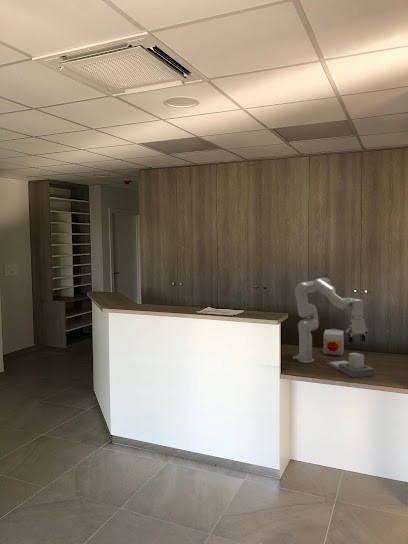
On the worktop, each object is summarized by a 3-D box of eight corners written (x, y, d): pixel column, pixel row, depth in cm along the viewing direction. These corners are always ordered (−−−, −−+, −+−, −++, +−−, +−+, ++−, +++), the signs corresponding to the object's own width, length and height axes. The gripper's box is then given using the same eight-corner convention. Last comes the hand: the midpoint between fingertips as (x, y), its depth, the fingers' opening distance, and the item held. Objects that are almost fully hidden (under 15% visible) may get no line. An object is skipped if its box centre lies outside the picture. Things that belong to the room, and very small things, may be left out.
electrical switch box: (322, 358, 358) (322, 334, 354) (325, 351, 371) (325, 328, 367) (341, 360, 352) (341, 335, 348) (343, 352, 366) (343, 329, 362)
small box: (364, 373, 310) (364, 354, 309) (357, 375, 307) (357, 356, 306) (354, 370, 317) (354, 352, 316) (348, 372, 314) (348, 353, 313)
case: (353, 377, 301) (353, 371, 301) (326, 364, 333) (326, 358, 333) (374, 375, 305) (374, 368, 305) (345, 362, 338) (345, 356, 338)
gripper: (349, 318, 303) (349, 344, 304) (371, 317, 308) (371, 342, 309) (342, 316, 310) (342, 341, 311) (364, 315, 315) (364, 339, 316)
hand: (356, 341), depth 310 cm, fingers open, 9 cm apart
